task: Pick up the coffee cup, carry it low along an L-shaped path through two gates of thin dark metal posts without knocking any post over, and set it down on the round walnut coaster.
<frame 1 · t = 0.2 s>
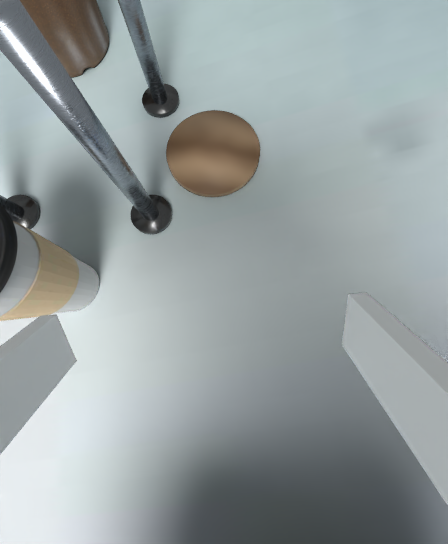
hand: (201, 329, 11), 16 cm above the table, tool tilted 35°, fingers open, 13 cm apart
pole corner: (152, 215, 29), on the table
plant pot: (71, 49, 35), on the table
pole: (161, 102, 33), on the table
coaster: (213, 155, 31), on the table
pole outer: (20, 215, 30), on the table
coffee cup: (77, 285, 28), on the table
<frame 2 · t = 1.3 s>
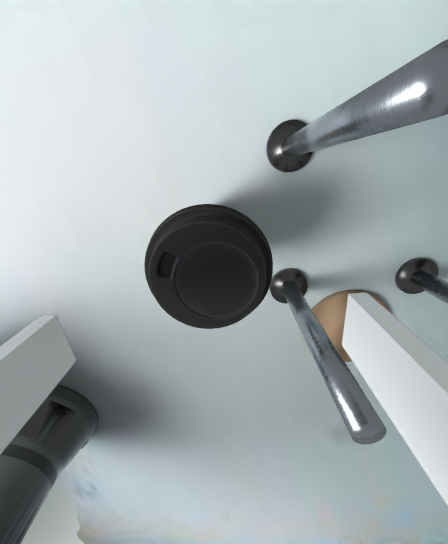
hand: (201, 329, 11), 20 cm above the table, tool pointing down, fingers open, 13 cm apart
pole corner: (287, 285, 32), on the table
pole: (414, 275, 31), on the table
coaster: (344, 326, 35), on the table
pole outer: (289, 147, 26), on the table
coffee cup: (216, 230, 30), on the table
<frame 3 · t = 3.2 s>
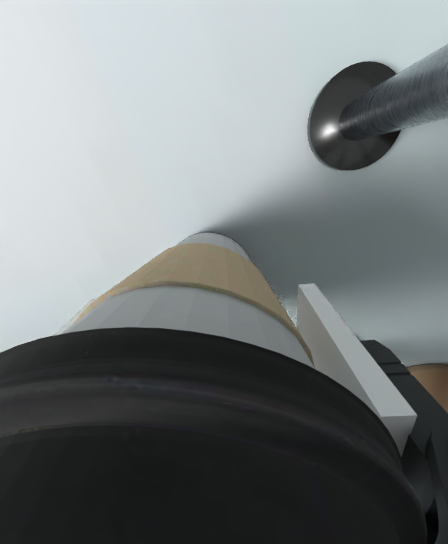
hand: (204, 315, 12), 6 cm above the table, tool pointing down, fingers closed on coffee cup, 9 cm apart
coaster: (412, 412, 22), on the table
pole outer: (352, 122, 13), on the table
coffee cup: (211, 271, 17), on the table, touching gripper
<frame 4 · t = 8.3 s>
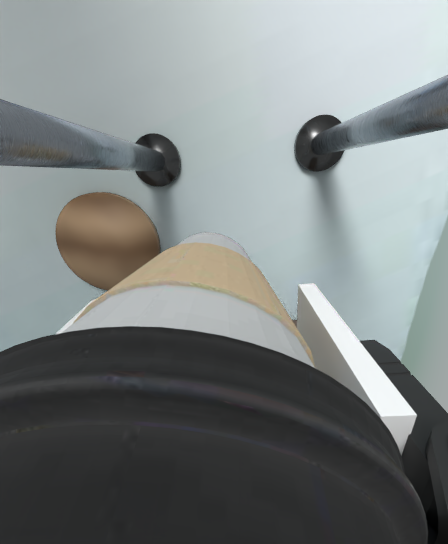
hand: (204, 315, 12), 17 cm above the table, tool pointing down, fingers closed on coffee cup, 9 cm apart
pole corner: (157, 161, 25), on the table
coaster: (111, 243, 29), on the table
pole outer: (318, 144, 24), on the table
coffee cup: (211, 271, 17), point 12 cm above the table, touching gripper
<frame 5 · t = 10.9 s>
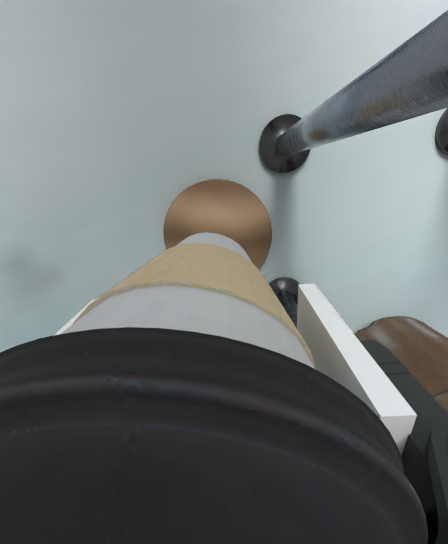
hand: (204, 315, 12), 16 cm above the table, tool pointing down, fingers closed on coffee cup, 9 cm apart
pole corner: (284, 145, 23), on the table
plant pot: (385, 349, 33), on the table
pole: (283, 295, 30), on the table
coaster: (217, 235, 27), on the table
coffee cup: (211, 271, 17), point 11 cm above the table, touching gripper
when the fingers open (7 cm above the table, at t = 13.4 s): coffee cup stays where it is, resting on coaster.
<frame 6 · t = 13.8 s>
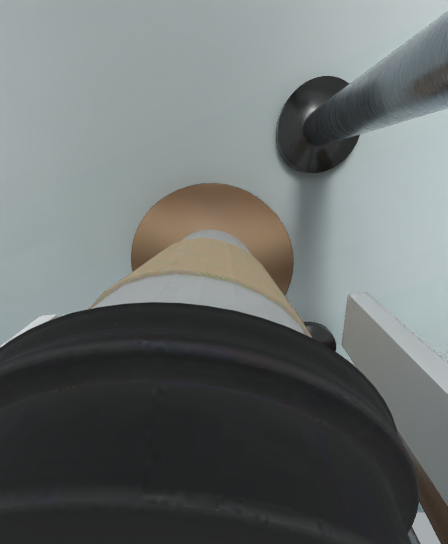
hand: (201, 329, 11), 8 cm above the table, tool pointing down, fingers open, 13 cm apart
pole corner: (316, 129, 15), on the table
plant pot: (440, 411, 24), on the table
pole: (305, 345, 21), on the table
coaster: (212, 264, 18), on the table
coffee cup: (213, 267, 17), point 1 cm above the table, touching coaster
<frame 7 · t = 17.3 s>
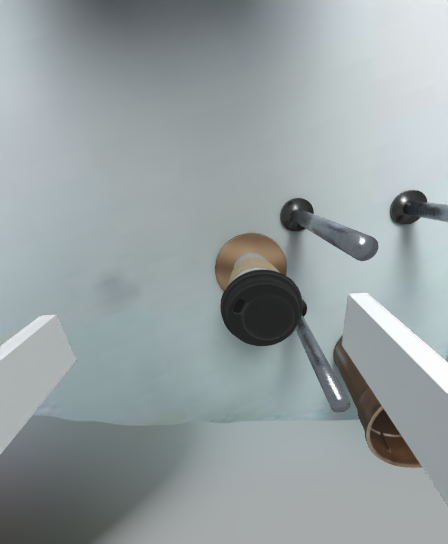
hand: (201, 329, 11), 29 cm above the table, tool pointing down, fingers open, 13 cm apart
pole corner: (296, 214, 37), on the table
plant pot: (363, 348, 46), on the table
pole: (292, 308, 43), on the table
coaster: (250, 267, 40), on the table
pole outer: (406, 207, 36), on the table
coffee cup: (251, 268, 39), point 1 cm above the table, touching coaster
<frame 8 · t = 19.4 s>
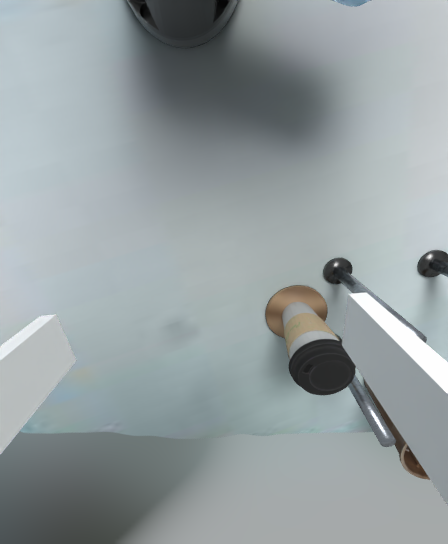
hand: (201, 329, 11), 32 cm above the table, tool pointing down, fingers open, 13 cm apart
pole corner: (337, 270, 43), on the table
plant pot: (390, 373, 53), on the table
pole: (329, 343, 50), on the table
coaster: (295, 312, 47), on the table
pole outer: (432, 263, 43), on the table
coffee cup: (297, 313, 46), point 1 cm above the table, touching coaster
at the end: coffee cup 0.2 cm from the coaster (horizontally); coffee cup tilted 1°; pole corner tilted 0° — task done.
